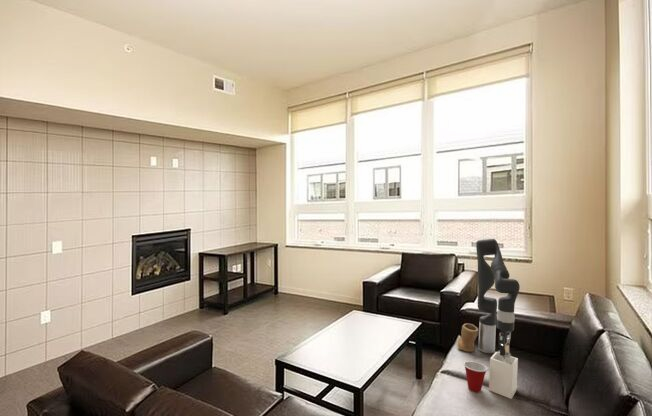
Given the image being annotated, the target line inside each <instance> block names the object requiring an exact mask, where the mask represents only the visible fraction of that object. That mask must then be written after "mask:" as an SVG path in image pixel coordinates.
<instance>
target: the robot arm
mask: <svg viewBox="0 0 652 416" xmlns="http://www.w3.org/2000/svg"><path fill="white" fill-rule="evenodd" d="M475 246H476V247H475V249H476V259H477V286H478V287H477V309H478V310H479V311H480V312H483V313H489V314H486V315H482V316H480V317H479V322H478V323H479V324H478V325H479V327H478V350H479V351H481V352H482V353H485V354H494V353H495V352H496V330H497V329H498V330H500V332H499V335H498V336H497V338H498V339H497V340H498V345H497V347H498V348H499V350H500V355H502V356H505V348H506V344H508V345H509V346H510V342H511V341H512V340H511V337H512V332H513V331H514V330H515V319H516V318H515V303H516V300H517V297H518V295H519V292H520V289H521V288H520V283H519V281H518V280H517V279H515V278H510V272H509V271H508V268H507V267H506V265H505V262H504V258H503V255H502V252H501V249H500V245H499V243H498V241H497V240H496V239H495V238H486V239H477V240H476V245H475ZM493 255H494V257H493V259H492V261H491V264H488V262H487V261H486V259H485V256H493ZM493 286H494V288H495V290H496V291H497V292H498V293H499V294H507V295H506V296H502V297H499V298H498V300H497V299H496V298H494V297H490V296H489V297H487V296H485V294H486V293H487V292H488V291H490V289H492V288H493ZM501 344H503V345H501Z"/></svg>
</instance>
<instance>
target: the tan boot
mask: <svg viewBox="0 0 652 416" xmlns="http://www.w3.org/2000/svg"><path fill="white" fill-rule="evenodd" d="M460 333H461V337H458V338H457V344H456V347H457V348H458V349H459V350H461V351H464V352H474V350H475V341H476V339H477V337H478V336H479V327H477V326H475V325H474V324H473V323H464V324H463V325H462V326H461V332H460Z"/></svg>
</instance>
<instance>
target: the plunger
mask: <svg viewBox="0 0 652 416" xmlns="http://www.w3.org/2000/svg"><path fill="white" fill-rule="evenodd" d="M501 345H503V344H501ZM497 352H498V354H499V355H500V349H499V350H497ZM500 356H502V355H500ZM511 356H512V354H511V352H510V344H509V345H508V344H506V348H505V356H503V358H502V362H505V363H506V357H511Z"/></svg>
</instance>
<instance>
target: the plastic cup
mask: <svg viewBox="0 0 652 416" xmlns="http://www.w3.org/2000/svg"><path fill="white" fill-rule="evenodd" d="M463 366H464V370H465V375H466V382H467V383H466V384H467V387H468V389H469V391H471V392H473V393H480V392H481V391H482V389H483V388H482V387H483V384H484V380H485V375H486V373H487V371H488V366H486V365H485V364H482V363H481V362H478V361H477V362H476V361H472V360H470V361H464V362H463Z"/></svg>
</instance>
